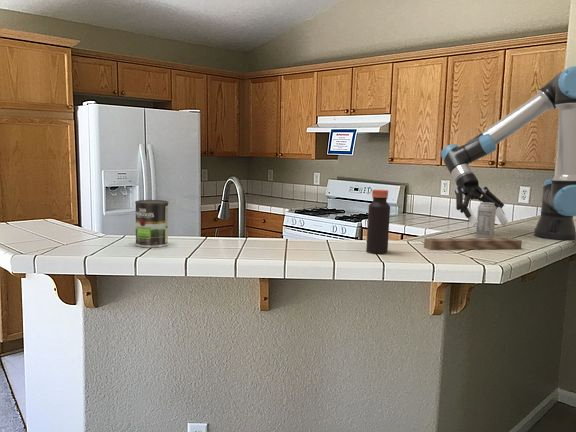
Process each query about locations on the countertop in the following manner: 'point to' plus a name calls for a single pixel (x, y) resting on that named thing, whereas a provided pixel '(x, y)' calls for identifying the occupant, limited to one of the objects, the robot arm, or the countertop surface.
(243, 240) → the countertop surface
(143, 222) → the coffee can
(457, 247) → the walnut board
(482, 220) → the energy drink can
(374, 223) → the bottle
